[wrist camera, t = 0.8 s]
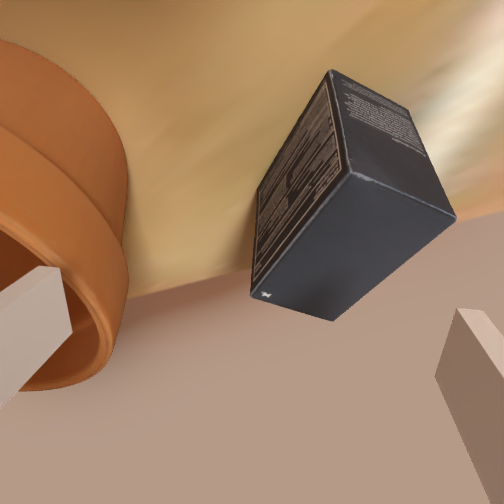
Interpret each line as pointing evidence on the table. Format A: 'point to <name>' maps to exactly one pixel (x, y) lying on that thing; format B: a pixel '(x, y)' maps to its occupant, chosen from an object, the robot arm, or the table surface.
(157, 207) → the table surface
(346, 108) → the small box
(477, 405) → the robot arm
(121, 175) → the flower pot
